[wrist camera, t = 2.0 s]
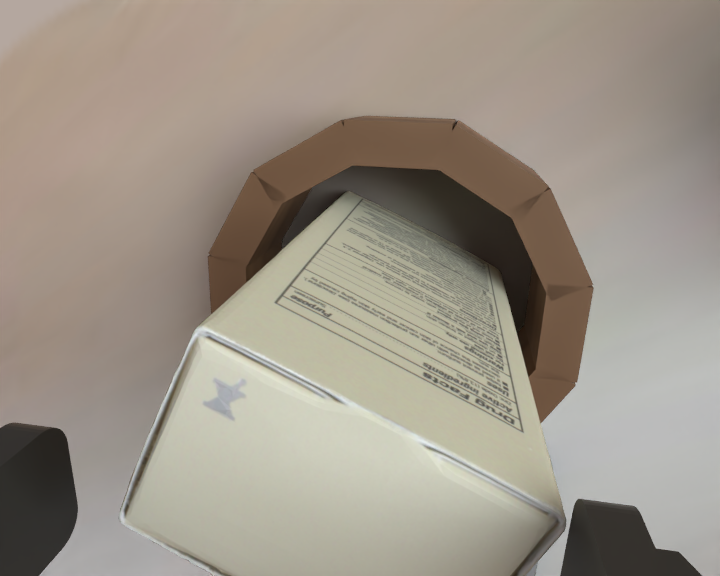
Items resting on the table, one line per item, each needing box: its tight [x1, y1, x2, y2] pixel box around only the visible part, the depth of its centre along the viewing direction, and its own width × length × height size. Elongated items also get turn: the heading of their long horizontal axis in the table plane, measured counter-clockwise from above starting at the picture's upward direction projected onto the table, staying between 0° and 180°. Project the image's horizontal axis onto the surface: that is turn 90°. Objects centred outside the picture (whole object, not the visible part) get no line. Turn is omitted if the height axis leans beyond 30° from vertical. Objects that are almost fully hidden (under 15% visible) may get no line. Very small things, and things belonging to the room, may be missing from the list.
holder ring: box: [208, 116, 593, 423], centre depth 18 cm, size 11×11×4 cm
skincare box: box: [119, 191, 566, 576], centre depth 14 cm, size 6×4×12 cm
